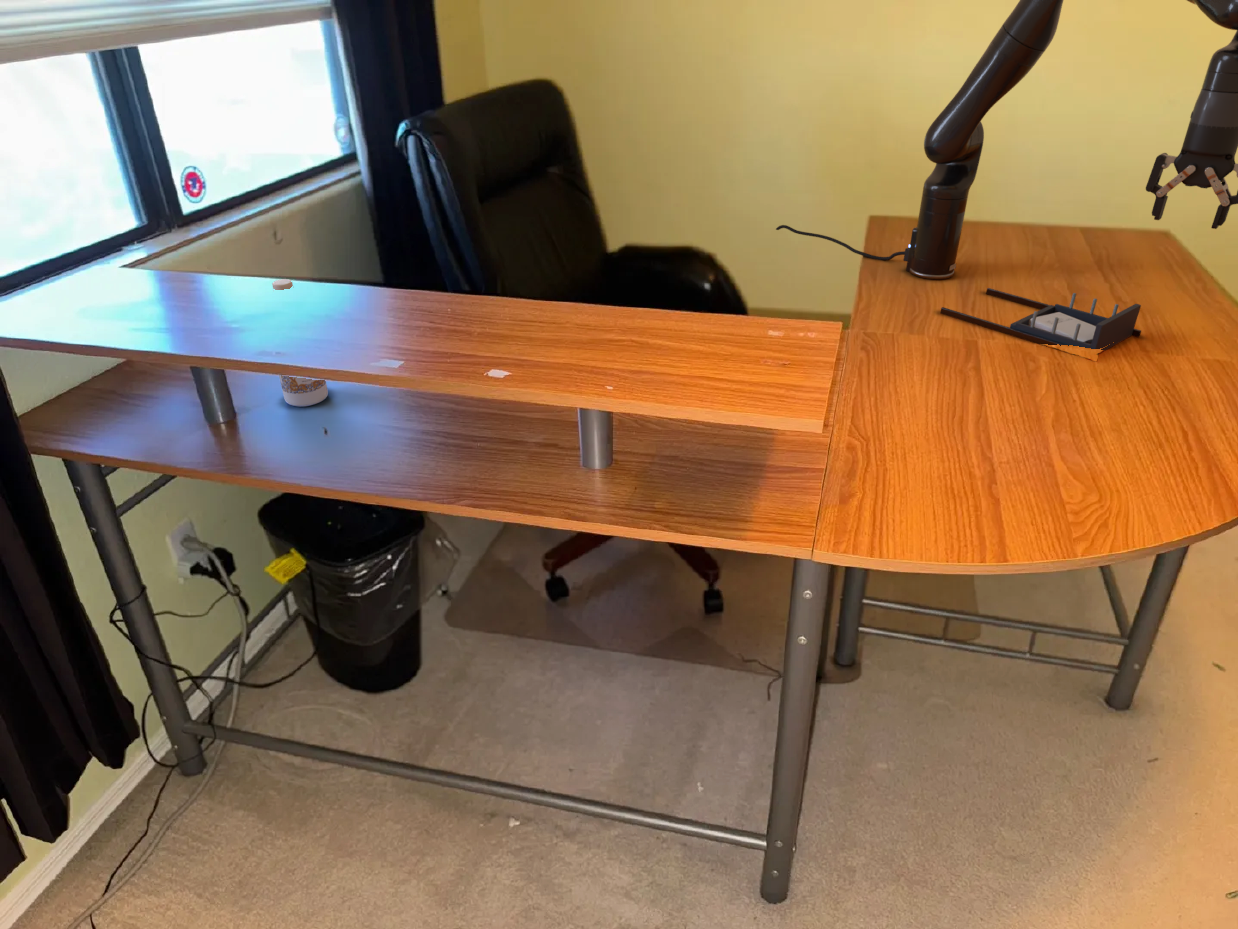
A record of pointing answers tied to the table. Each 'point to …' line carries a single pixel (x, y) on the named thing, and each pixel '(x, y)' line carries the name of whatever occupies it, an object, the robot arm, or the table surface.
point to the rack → (1105, 330)
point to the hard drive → (1065, 326)
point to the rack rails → (1006, 329)
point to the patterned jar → (300, 388)
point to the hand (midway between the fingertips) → (1185, 223)
